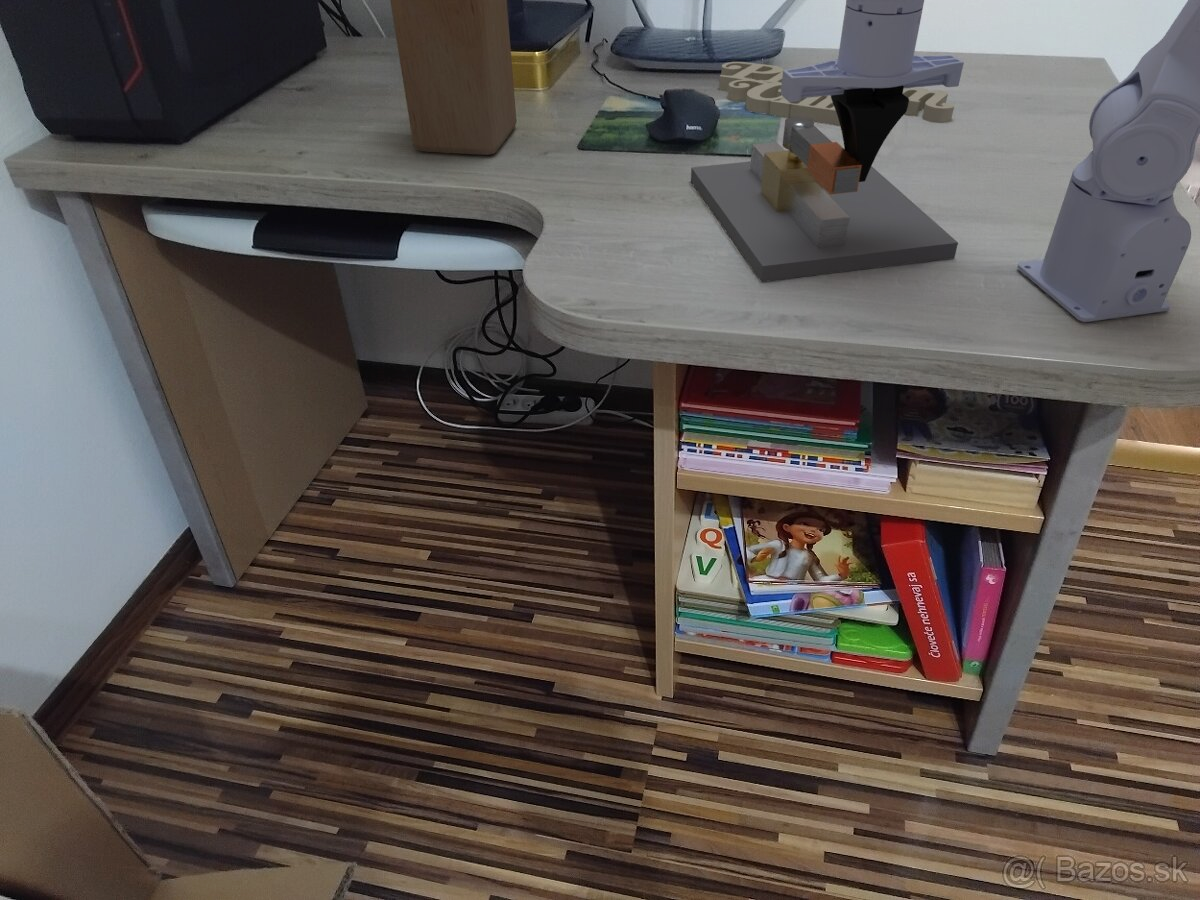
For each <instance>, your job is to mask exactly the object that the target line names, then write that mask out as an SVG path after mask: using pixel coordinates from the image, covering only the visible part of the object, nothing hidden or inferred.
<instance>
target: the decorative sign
mask: <svg viewBox="0 0 1200 900" xmlns="http://www.w3.org/2000/svg"><path fill="white" fill-rule="evenodd" d="M783 70H785V69H784V68H783V67H781V66H778V65H772V64H764V63H763V64H762V63H757V62H745V61H731V62H725V63H722V65H721V74H720V75H719V77H718V90H721V91H727V99H728V100H729V101H730V102H731V101H732V102H745V109H746V111H748V110H749V111H748V112H750V111H752V112H757V113H766V114H765V115H769V114H770V115H769V116H771V115H776V116H775V117H779V118H786V119H787V118H790V117H807V118H810V119H812V120H813V121H814V123H819V124H820V123H821V124H826V125H834V126H839V127H840V123H839V119H838V116H837V113H836V110H835V107H834V104H833V102H832V99H831V95H830V96H819V97H808V98H801V101H798V102H789V101H787V100H786V99H785V98H784V97H783V96H782V95H781V86H782V76H783ZM903 95H905V96H906V97H908V98H909V104H908V108H907V111H906V113H905V114H904V115H905V116H912V117H917V116H918V115H919V112H920V111H921V110H923V112H922V116H921V118H922V119H923V120H924V121H928V122H930V123H931V122H932V123H936V124H937V123H939V124H940V123H941V124H944V123H950V122H951V121H952V119H953V118H952V117H953V115H954V109H955V104H954V103H951V102H947V100H948V96H949V93H948V92H947V91H944V90H937V89H936V90H935V89H934V90H929V89H928V88H923V87H914V88H904V89H903ZM752 112H751V113H752ZM904 115H903V116H904Z"/></svg>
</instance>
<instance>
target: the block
mask: <svg viewBox="0 0 1200 900" xmlns="http://www.w3.org/2000/svg"><path fill="white" fill-rule="evenodd" d="M389 1H390V8H391V15H392V19H393V20H392V21H393V26H394V32H395V39H396V40H395V41H396V45H397V50H398V57H399V64H400V70H401V76H402V83H403V88H404V95H405V101H406V108H407V116H408V118H409V119H408V120H409V127H410V132H411V133H410V134H411V139H412V145H413V147H414V149H415V150H416V151H419V152H429V153H431V152H432V153H447V154H448V153H449V154H463V155H464V154H466V155H468V154H469V155H484V156H485V155H486V156H491V155H493V154H496V153H497V151H498V150H499V149H500V148H501V146H502V145H503V144H504V142H505V141H506V140H507V138H508V137H509V136H510V135H511V133H512V132H513V131H514V129H515V128H516V124H517V110H516V99H515V98H516V97H515V86H514V85H515V84H514V73H513V64H512V63H513V62H512V49H511V37H510V25H509V15H508V3H507V1H508V0H389Z"/></svg>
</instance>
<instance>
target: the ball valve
mask: <svg viewBox="0 0 1200 900" xmlns="http://www.w3.org/2000/svg"><path fill="white" fill-rule="evenodd" d="M750 161H751V165H750V170H751V171H752V172H753V173H754V174H755V176H756V177H757V178H758V179H759V180H760V182H761V183H762V184H761V194H762V195H763V196H764V198H765V199H766V200H767V201H768V202H769V204H770V205H771V206H772V207H773V208H774V210H775V211H776V212H779V211H786V212H787V213H788V214H789V216H790V217H791V218H792V219H793V220H794V221H795V223H796V224H797V225H798V226H799V227H800V229H801V230H802V231H803V232H804V233H805V234H806V236H807V237H808V238H809V239H810V240H811V241H812V243H813V244H814V245H815V246H816V247H817V248H822V247H830V246H839V245H845V242H846V236H847V230H848V224H849V218H850V217H849V216H848V215H847V214H846V213H845V212H844V211H843V210H842V209H841V208H840V207H839V206H838V204H837V203H836V202H835V201H834V200H833V199H832V198H831V197H830V196H829V195H828V194H827V193H826V192H825V191H824V190H823V187H822V186H821V185H820V184H819V183H818V182H817V181H816V180H815V179H814V177H813V176H812V175H811V174H810V173H809V172H808V171H807V166H806V165H805V164H804V163H803V162H802V161H801V160H800V159H799V158H798V157H797V156H796V155H795V154H794V153H793V152H792V151H791V150H789V149H787V150H785V149H784V147H783V146H781V145H780V143H778V142H777V141H773V142H763V143H753V144H751V156H750Z"/></svg>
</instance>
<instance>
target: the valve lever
mask: <svg viewBox="0 0 1200 900" xmlns="http://www.w3.org/2000/svg"><path fill="white" fill-rule="evenodd" d="M782 148H783V149H784V148H785V149H787V150H788V149H789V150H791V151H792V152H793V153H794V154H795V155H796V156H797V157H798V158H799V159H800V160H801V161H802V162H803V163H804V164H805V165H806V166H807V171H808V172H809V173H810V174H811V175H812V176H813V177H814V179H815V180H816V181H817V182H818V183H819V184H820V185H821V186H822V187H823V188H824V189H825V190H826V191H827V192H828V193H829V194H830V195H831V194H840V193H849V192H857V190H858V184H859V178H860V172H861V166H862V165H861V164H860V163H859V162H858V161H857V160H856V159H855V158H854V157H853V156H852V155H850V154H849V153H848V152H847V151H846V150H845V149H844V146H841V144H840V143H838V142H837V141H832V140H830V138H829V137H827V136H826V135H825V134H824V133H823V132H822V131H821V130H819V129H818V128H817V126H815V122H814V121H813V120H812V119H810V118H807V117H790V118H786V119H785V121H784V126H783V137H782Z"/></svg>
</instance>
